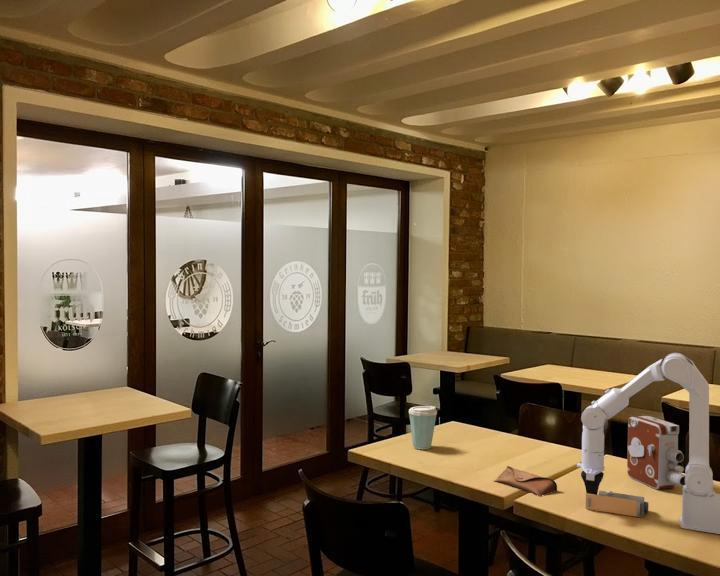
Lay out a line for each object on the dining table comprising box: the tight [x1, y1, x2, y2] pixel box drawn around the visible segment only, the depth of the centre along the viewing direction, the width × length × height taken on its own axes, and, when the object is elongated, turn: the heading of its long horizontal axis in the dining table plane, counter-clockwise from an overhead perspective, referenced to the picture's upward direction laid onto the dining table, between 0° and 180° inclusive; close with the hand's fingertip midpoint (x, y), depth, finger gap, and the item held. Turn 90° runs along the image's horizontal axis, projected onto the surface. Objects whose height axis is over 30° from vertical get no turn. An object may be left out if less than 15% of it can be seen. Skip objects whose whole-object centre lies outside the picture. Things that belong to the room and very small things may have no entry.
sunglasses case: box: [493, 465, 558, 497], centre depth 188 cm, size 18×7×7 cm
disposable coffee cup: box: [408, 405, 438, 450], centre depth 229 cm, size 11×11×15 cm
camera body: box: [597, 490, 649, 518], centre depth 169 cm, size 12×6×4 cm, turn 65°
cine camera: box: [626, 415, 686, 490], centre depth 189 cm, size 9×19×20 cm, turn 15°
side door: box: [585, 492, 641, 518], centre depth 166 cm, size 14×1×4 cm, turn 65°
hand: (591, 499), depth 171 cm, fingers closed
